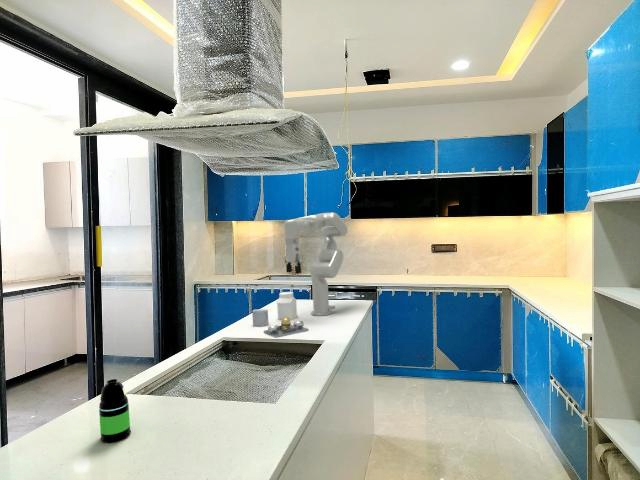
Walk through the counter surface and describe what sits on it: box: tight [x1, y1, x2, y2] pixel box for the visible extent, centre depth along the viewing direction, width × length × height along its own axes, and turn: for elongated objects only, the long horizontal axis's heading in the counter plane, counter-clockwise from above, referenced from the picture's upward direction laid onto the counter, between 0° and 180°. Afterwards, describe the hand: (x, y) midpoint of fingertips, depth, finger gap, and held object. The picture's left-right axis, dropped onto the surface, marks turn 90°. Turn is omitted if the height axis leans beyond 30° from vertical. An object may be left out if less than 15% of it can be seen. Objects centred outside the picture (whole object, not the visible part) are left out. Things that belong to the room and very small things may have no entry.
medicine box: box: [251, 308, 270, 327], centre depth 231 cm, size 8×4×9 cm, turn 84°
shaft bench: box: [263, 320, 309, 338], centre depth 214 cm, size 19×13×4 cm
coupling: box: [280, 317, 292, 331], centre depth 214 cm, size 5×5×6 cm
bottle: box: [98, 378, 132, 444], centre depth 110 cm, size 7×7×15 cm
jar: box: [276, 291, 298, 321], centre depth 247 cm, size 12×10×15 cm
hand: (293, 272), depth 232 cm, fingers open, 9 cm apart
